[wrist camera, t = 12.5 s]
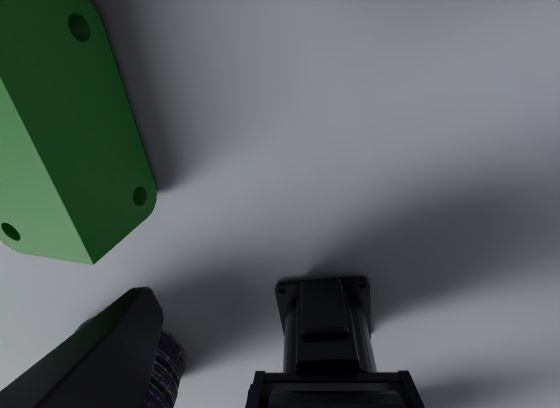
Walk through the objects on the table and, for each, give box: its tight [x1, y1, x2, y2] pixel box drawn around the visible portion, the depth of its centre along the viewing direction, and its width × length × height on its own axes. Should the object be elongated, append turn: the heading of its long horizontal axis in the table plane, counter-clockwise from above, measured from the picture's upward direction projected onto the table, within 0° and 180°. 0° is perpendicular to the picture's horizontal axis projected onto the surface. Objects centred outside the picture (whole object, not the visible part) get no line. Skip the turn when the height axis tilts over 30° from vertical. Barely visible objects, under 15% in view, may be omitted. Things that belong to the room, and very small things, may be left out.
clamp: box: [0, 0, 157, 265], centre depth 16 cm, size 12×6×9 cm, turn 1°
